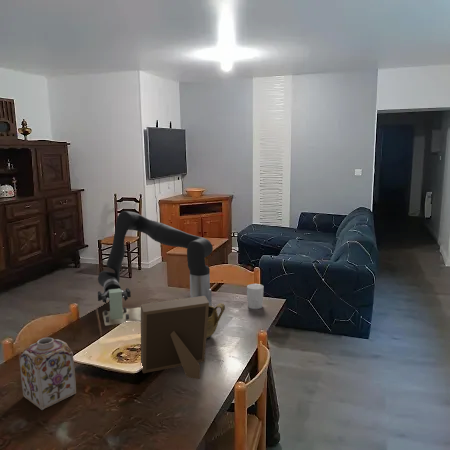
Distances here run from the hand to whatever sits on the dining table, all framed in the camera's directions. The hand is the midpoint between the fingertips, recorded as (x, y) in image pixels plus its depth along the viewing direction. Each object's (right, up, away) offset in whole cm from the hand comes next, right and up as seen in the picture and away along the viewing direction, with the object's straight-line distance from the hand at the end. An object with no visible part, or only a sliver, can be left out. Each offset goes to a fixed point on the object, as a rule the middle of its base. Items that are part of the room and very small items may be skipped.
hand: (115, 299), depth 187 cm
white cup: (+62, -6, +17) cm, 65 cm away
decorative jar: (-6, -20, -55) cm, 59 cm away
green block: (0, -8, +2) cm, 8 cm away
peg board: (+6, -9, +5) cm, 12 cm away
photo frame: (+31, -17, -42) cm, 55 cm away
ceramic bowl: (+37, -13, -16) cm, 42 cm away
